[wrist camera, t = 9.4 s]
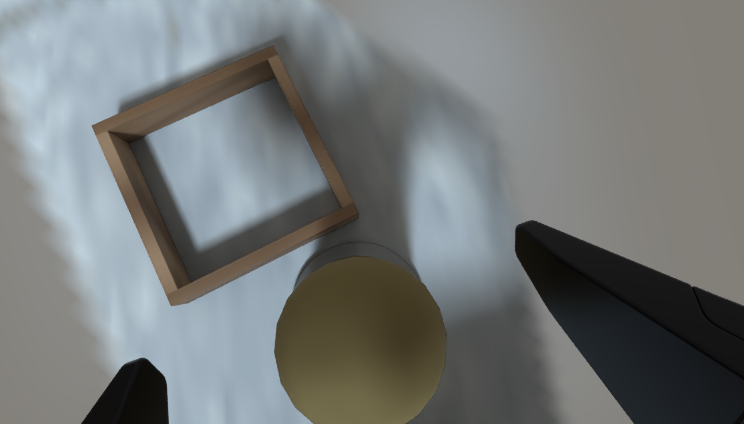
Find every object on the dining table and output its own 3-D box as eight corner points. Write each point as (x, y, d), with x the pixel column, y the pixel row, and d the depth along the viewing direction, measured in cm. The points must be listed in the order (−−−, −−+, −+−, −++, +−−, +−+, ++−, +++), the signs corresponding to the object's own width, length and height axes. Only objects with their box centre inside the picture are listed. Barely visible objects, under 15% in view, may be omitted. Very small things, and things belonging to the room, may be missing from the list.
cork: (364, 232, 22) (372, 194, 11) (438, 317, 22) (521, 362, 11) (278, 306, 22) (198, 343, 11) (353, 396, 21) (350, 530, 10)
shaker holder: (358, 217, 23) (358, 212, 21) (187, 302, 22) (171, 306, 20) (279, 64, 24) (273, 45, 22) (114, 138, 23) (91, 125, 21)
